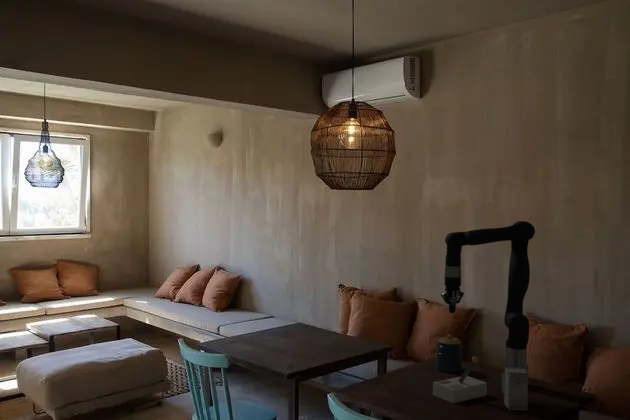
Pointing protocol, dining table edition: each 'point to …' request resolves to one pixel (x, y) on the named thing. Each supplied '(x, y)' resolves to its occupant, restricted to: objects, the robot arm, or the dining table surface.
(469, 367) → the breaker lever
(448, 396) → the box
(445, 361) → the canister
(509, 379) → the circuit breaker
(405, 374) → the dining table surface
